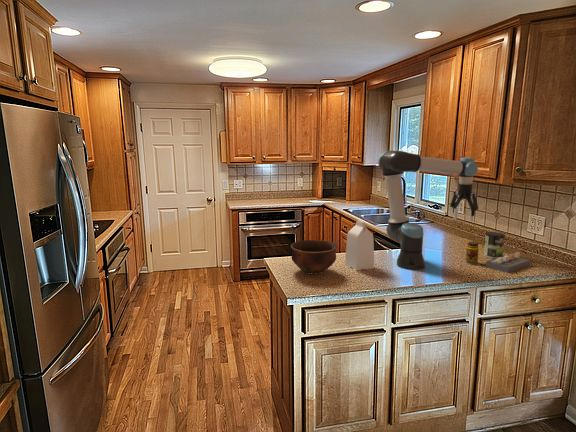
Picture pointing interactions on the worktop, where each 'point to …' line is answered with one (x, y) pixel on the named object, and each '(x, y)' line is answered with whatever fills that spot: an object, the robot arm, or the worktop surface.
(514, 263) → the switch panel
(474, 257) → the condiment
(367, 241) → the milk
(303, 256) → the bowl
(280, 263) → the worktop surface
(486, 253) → the coffee can
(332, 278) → the worktop surface
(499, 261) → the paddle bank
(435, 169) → the robot arm
